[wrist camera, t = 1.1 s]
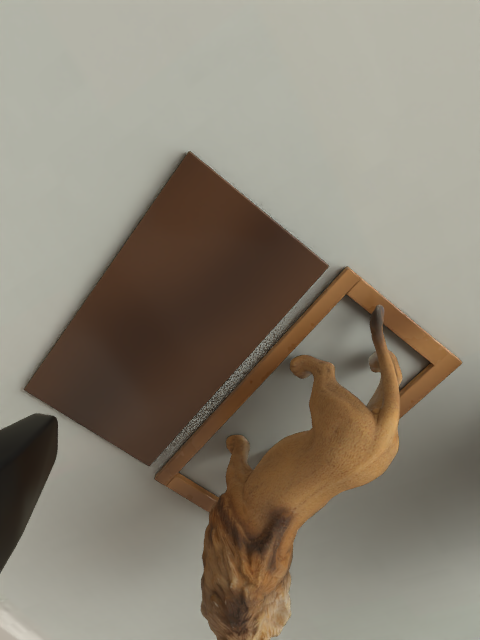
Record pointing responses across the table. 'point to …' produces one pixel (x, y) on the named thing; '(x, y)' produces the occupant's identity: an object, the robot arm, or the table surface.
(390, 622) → the table surface
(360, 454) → the lion figurine
